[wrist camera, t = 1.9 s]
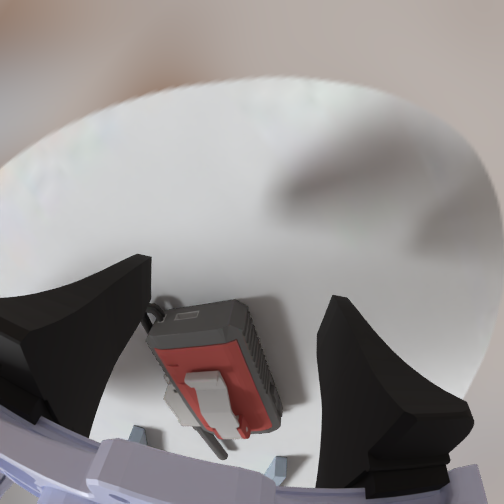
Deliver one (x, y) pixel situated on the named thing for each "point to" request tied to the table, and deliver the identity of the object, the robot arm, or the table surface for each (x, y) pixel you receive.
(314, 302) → the table surface
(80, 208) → the table surface
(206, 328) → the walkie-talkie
